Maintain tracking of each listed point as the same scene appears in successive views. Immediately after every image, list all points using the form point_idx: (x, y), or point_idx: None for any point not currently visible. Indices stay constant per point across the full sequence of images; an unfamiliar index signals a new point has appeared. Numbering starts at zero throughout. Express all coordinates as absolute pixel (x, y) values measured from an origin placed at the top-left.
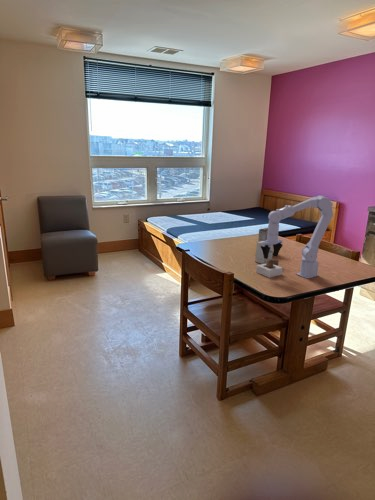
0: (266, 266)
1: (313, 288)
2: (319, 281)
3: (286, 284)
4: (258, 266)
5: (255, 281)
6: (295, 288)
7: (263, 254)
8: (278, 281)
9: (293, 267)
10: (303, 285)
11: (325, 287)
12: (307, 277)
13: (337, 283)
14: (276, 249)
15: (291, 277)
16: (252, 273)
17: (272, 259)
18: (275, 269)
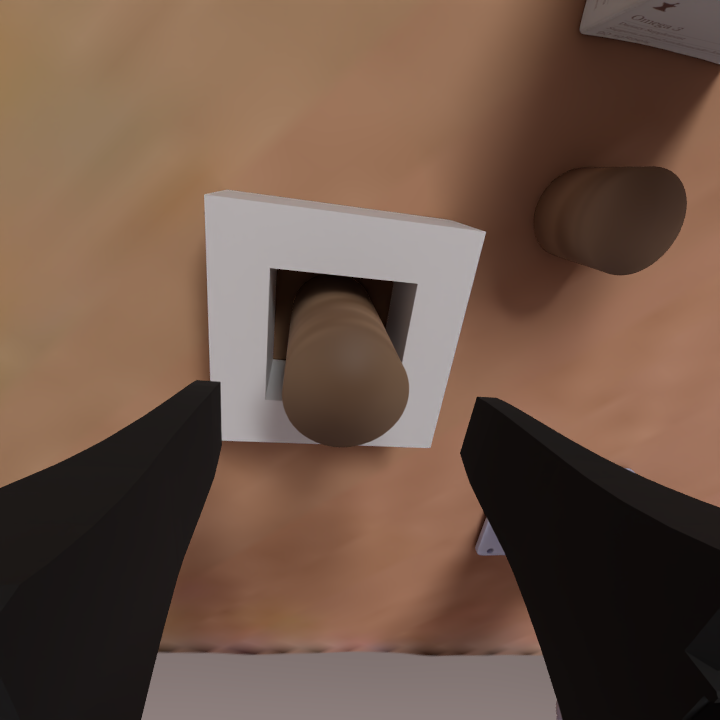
0: (291, 329)
1: (338, 636)
2: (484, 595)
3: (238, 544)
4: (206, 238)
5: (4, 386)
6: (234, 602)
7: (153, 414)
8: (232, 485)
9: (684, 345)
10: (331, 594)
11: (412, 649)
12: (482, 549)
13: (526, 642)
14: (543, 562)
15: (409, 481)
16: (145, 192)
17: (390, 405)
18: (310, 443)
